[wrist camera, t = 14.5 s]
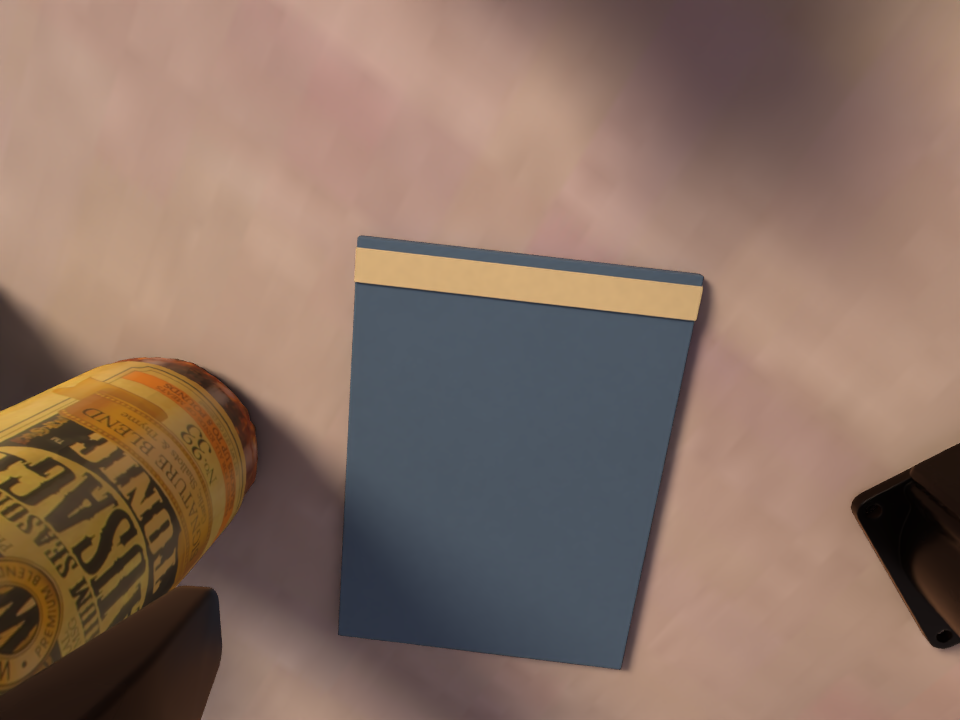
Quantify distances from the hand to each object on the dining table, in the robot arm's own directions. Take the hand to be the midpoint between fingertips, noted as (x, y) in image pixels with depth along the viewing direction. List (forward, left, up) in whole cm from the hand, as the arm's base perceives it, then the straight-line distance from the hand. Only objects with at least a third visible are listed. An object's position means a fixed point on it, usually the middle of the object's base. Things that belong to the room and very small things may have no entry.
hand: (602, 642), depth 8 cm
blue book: (-3, +4, -13) cm, 14 cm away
